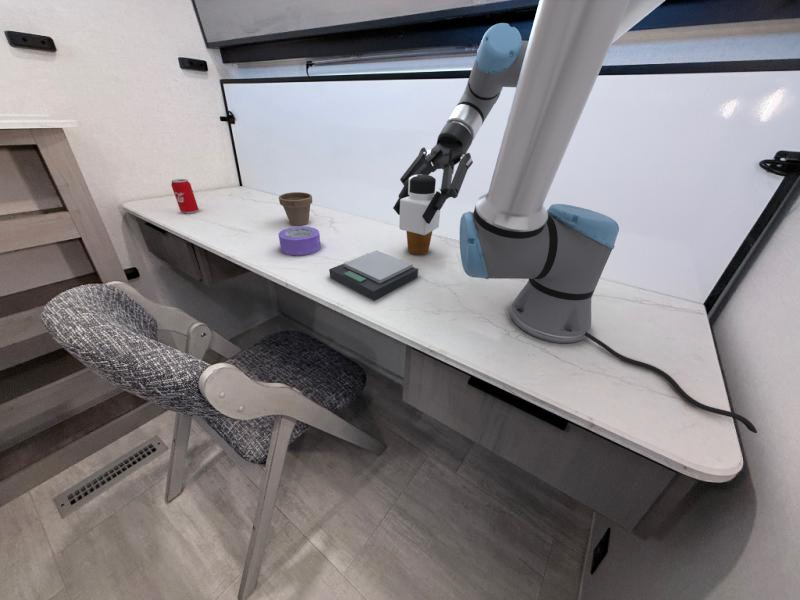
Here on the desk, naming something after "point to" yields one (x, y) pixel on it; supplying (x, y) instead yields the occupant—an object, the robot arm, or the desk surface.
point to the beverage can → (184, 195)
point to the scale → (374, 274)
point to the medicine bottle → (418, 205)
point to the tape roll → (299, 240)
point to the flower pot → (296, 207)
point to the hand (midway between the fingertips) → (410, 215)
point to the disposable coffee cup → (418, 243)
